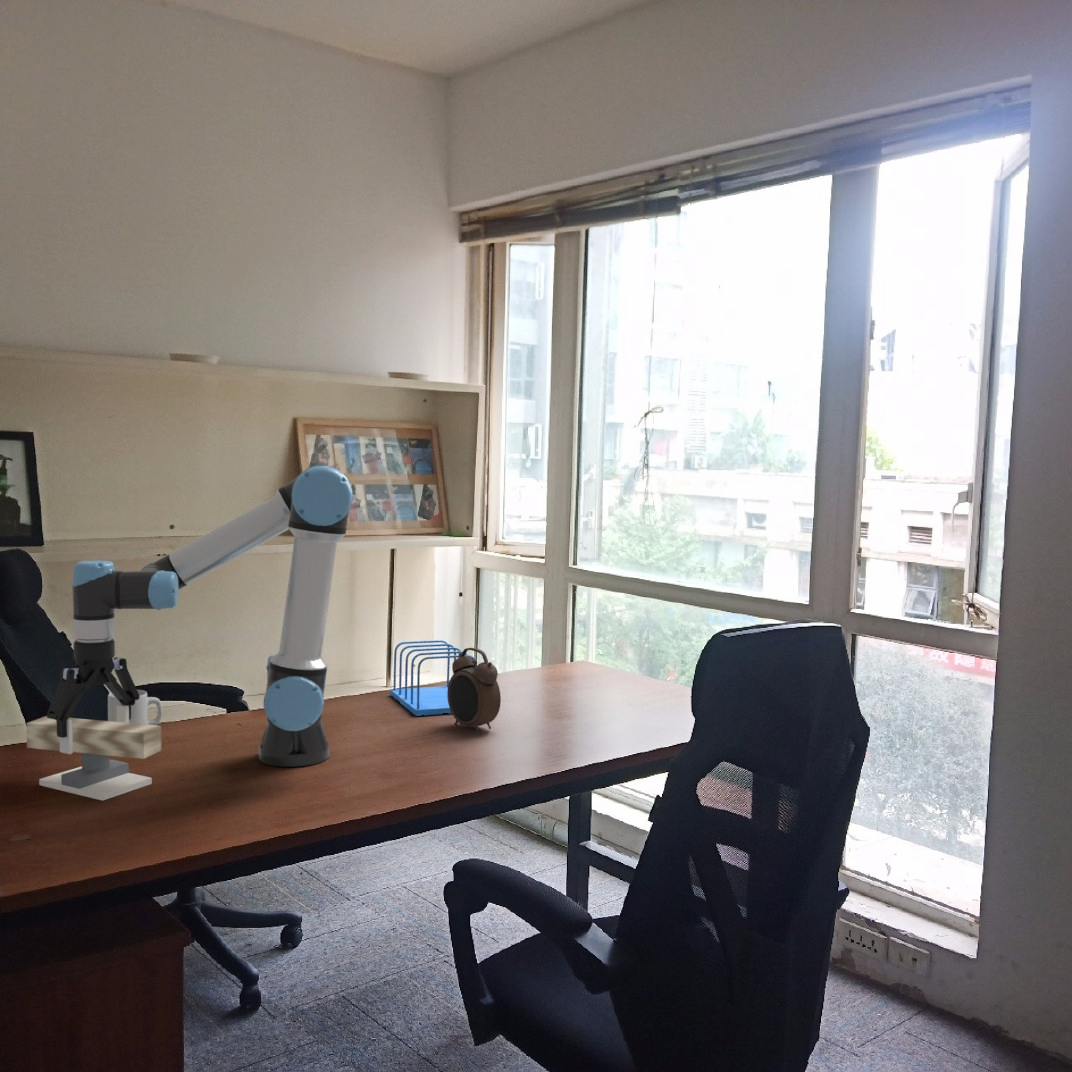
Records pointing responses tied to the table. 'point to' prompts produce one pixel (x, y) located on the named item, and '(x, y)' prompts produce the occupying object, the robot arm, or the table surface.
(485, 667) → the alarm clock
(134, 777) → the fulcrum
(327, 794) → the table surface
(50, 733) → the oak bar
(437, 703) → the file sorter
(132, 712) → the mug
